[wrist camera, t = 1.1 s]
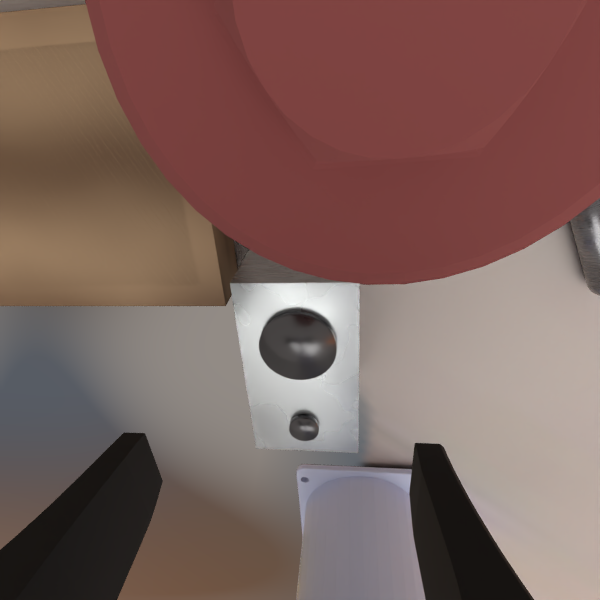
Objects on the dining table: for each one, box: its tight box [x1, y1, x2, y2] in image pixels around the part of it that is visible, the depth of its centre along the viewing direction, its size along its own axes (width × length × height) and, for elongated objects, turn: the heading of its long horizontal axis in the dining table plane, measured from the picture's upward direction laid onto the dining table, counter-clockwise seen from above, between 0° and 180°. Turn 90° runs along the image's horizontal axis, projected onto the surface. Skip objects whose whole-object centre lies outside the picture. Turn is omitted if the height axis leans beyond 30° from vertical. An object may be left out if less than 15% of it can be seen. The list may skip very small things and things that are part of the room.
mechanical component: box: [85, 0, 600, 285], centre depth 10 cm, size 12×10×10 cm
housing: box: [230, 249, 360, 453], centre depth 18 cm, size 8×4×6 cm, turn 4°
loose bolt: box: [570, 198, 600, 296], centre depth 16 cm, size 7×2×2 cm, turn 29°
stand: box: [0, 4, 238, 306], centre depth 17 cm, size 11×11×2 cm
